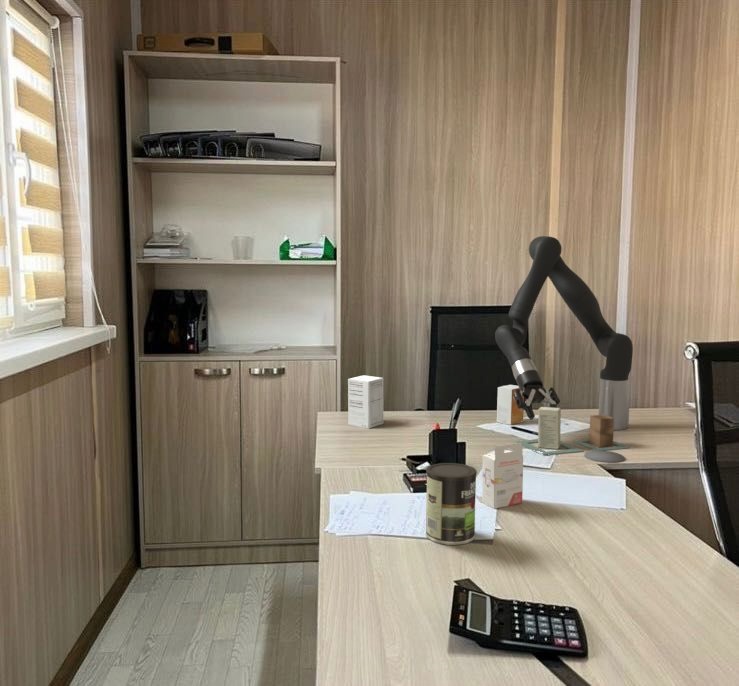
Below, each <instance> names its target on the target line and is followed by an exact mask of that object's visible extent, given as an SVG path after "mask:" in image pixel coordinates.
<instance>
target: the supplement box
mask: <svg viewBox="0 0 739 686" xmlns="http://www.w3.org/2000/svg"><path fill="white" fill-rule="evenodd" d="M347 386H348V387H347V391H348V393H347V399H348V400H347V401H348V402H347V404H348V405H347V406H348V407H347V408H348V410H347V412H348V413H347V415H348V416H347V417H348V418H347V419H348V420H347V421H348V423H347V424H348V426H351V427H356V428H362V429H367V430H368V429H372V428H374V427H377V426H380V425H383V424H384V377H381V376H371V375H359V376H355V377H351V378H348V379H347Z"/></svg>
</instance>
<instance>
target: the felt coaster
mask: <svg viewBox="0 0 739 686" xmlns="http://www.w3.org/2000/svg"><path fill="white" fill-rule="evenodd" d="M584 457H585V458H586V459H587V460H590V461H593V462H599V463H606V464H607V463H608V464H615V463H621V462H624V461H625V456H624V455H623V454H620V453H619V452H618V453H617V452H614V451H611V450H608V451H594V450H587V451H586V452H584Z"/></svg>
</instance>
